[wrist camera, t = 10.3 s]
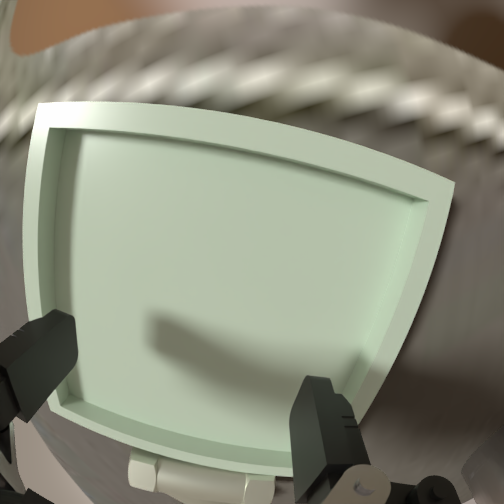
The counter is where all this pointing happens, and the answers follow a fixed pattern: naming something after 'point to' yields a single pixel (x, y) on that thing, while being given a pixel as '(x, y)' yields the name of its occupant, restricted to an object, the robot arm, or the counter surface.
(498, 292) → the counter surface
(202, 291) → the tray
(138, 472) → the pipe fitting
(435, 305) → the counter surface
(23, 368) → the robot arm
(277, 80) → the counter surface
